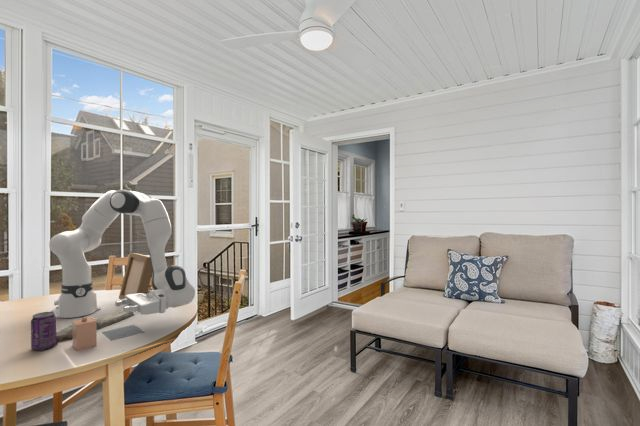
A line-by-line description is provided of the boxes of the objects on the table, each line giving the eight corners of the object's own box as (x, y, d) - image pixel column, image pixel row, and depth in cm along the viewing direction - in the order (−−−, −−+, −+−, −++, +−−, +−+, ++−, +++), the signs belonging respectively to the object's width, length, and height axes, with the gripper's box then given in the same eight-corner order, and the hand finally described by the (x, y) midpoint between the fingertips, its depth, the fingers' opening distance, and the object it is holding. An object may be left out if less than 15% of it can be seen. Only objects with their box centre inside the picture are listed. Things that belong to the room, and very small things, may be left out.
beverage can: (40, 343, 127) (40, 311, 127) (61, 343, 128) (60, 311, 127) (25, 351, 120) (25, 317, 120) (47, 351, 121) (47, 317, 120)
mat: (101, 333, 137) (101, 332, 137) (133, 326, 146) (133, 324, 146) (111, 342, 129) (111, 340, 129) (144, 333, 138) (144, 332, 138)
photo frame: (134, 308, 169) (135, 258, 169) (118, 300, 183) (119, 253, 183) (164, 302, 180) (165, 255, 180) (147, 295, 195) (147, 251, 194)
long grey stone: (140, 319, 159) (123, 317, 162) (140, 307, 159) (123, 306, 162) (63, 344, 126) (44, 342, 129) (63, 329, 126) (44, 327, 129)
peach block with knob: (72, 347, 124) (72, 317, 124) (91, 342, 129) (91, 313, 128) (76, 352, 120) (76, 321, 120) (96, 347, 125) (96, 317, 124)
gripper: (146, 288, 151) (111, 293, 141) (166, 298, 137) (129, 304, 127) (146, 302, 151) (111, 308, 141) (166, 313, 138) (128, 321, 127)
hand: (119, 306), depth 134 cm, fingers open, 8 cm apart
